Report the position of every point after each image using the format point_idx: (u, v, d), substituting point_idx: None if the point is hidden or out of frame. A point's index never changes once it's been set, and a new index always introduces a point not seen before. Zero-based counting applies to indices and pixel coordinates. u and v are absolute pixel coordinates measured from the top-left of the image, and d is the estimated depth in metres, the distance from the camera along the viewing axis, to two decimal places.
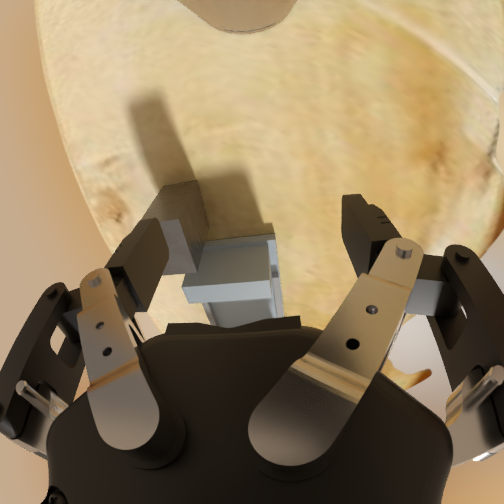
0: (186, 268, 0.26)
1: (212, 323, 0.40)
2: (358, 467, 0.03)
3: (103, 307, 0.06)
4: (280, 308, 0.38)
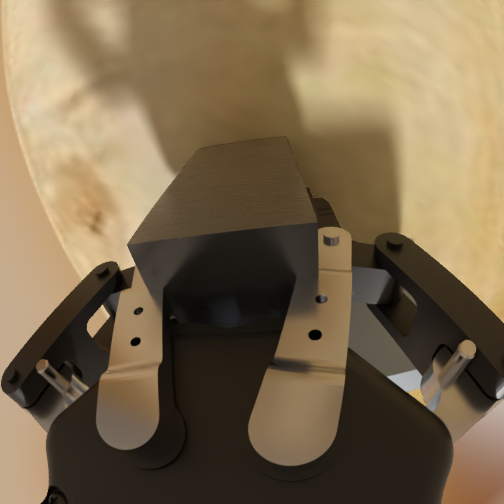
0: None
1: None
2: (358, 467, 0.03)
3: (148, 292, 0.06)
4: None
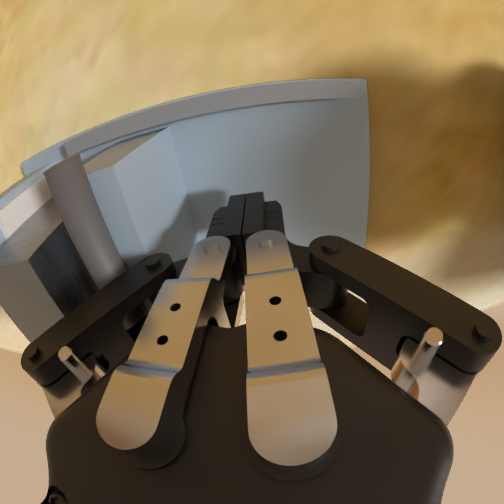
0: None
1: None
2: (358, 467, 0.03)
3: (191, 288, 0.06)
4: (168, 109, 0.10)
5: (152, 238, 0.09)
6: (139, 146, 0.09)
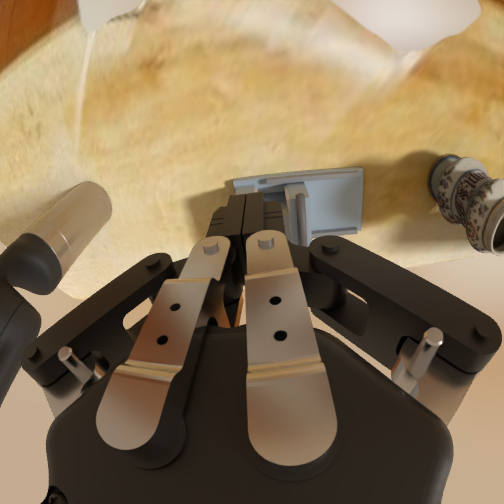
0: None
1: (324, 235, 0.44)
2: (358, 467, 0.03)
3: (191, 288, 0.06)
4: (307, 177, 0.39)
5: None
6: (306, 190, 0.37)
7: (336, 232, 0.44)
